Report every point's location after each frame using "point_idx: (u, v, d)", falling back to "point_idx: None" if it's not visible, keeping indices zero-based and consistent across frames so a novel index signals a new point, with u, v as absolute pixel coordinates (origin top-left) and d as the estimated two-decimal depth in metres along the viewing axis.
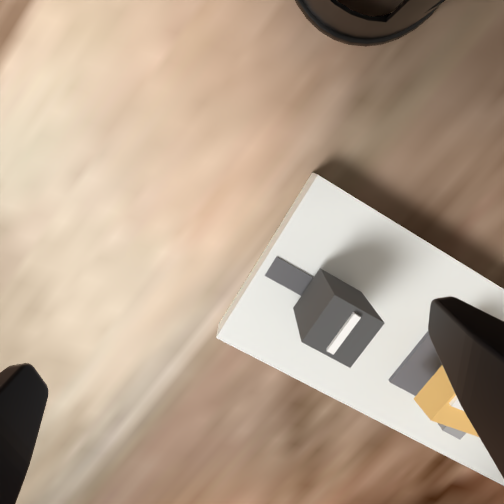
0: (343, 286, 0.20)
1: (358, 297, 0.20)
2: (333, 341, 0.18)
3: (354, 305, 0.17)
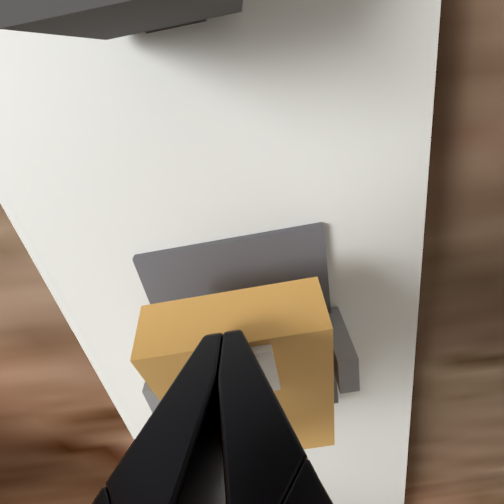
0: None
1: None
2: None
3: None
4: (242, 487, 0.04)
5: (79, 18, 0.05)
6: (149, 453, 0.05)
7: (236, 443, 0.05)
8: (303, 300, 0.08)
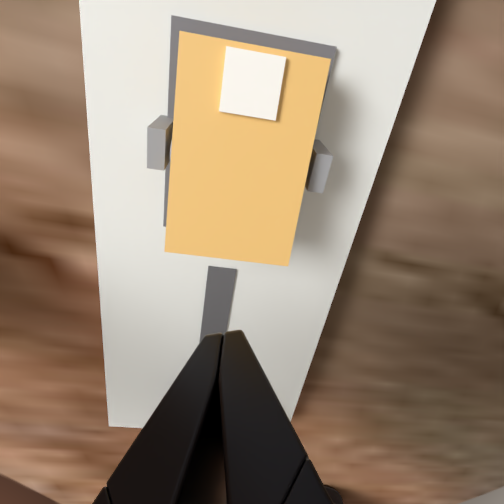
0: None
1: None
2: None
3: None
4: (243, 487, 0.04)
5: None
6: (149, 453, 0.05)
7: (237, 443, 0.05)
8: None
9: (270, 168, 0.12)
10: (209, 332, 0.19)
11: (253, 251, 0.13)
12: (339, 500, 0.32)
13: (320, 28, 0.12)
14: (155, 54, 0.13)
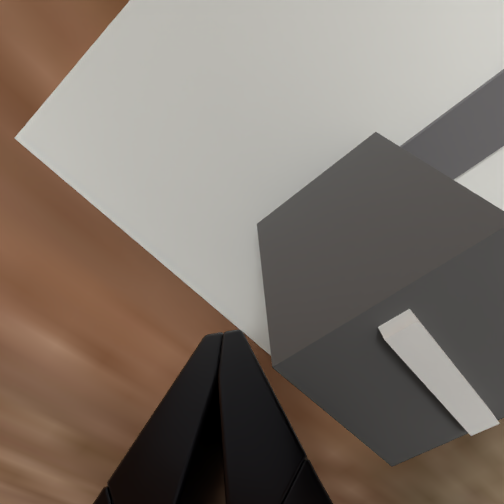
0: None
1: None
2: None
3: None
4: (242, 487, 0.04)
5: None
6: (150, 453, 0.05)
7: (236, 443, 0.05)
8: None
9: None
10: None
11: None
12: None
13: None
14: None
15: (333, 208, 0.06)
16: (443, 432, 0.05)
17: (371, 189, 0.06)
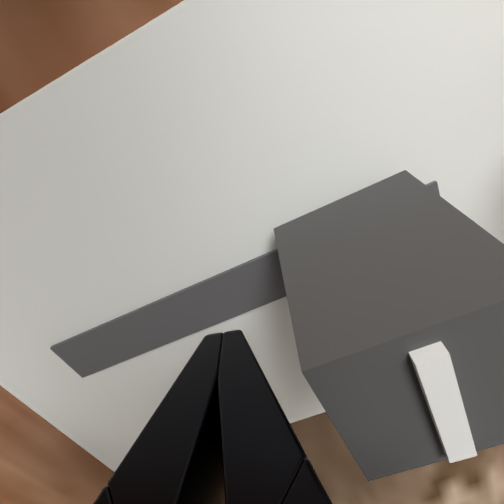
0: None
1: None
2: None
3: None
4: (241, 487, 0.04)
5: None
6: (151, 453, 0.05)
7: (235, 443, 0.05)
8: None
9: None
10: (271, 270, 0.09)
11: None
12: None
13: None
14: None
15: (362, 232, 0.06)
16: (423, 456, 0.06)
17: (403, 223, 0.06)
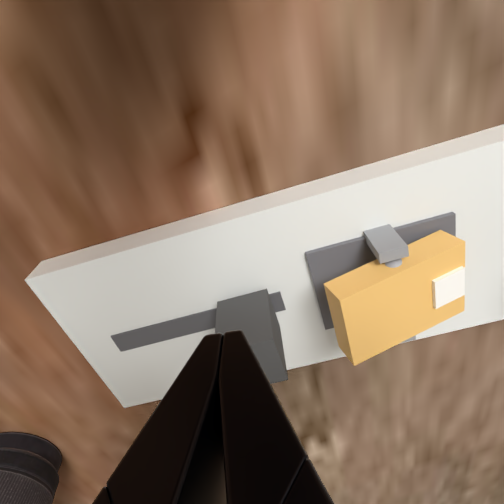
0: None
1: None
2: None
3: None
4: (243, 487, 0.04)
5: None
6: (150, 453, 0.05)
7: (237, 443, 0.05)
8: None
9: (408, 320, 0.18)
10: (214, 315, 0.22)
11: (357, 344, 0.18)
12: None
13: None
14: (427, 209, 0.19)
15: (243, 312, 0.19)
16: None
17: (255, 312, 0.19)
